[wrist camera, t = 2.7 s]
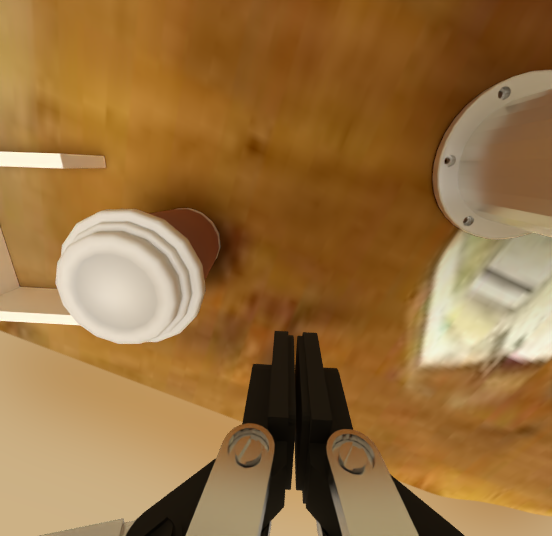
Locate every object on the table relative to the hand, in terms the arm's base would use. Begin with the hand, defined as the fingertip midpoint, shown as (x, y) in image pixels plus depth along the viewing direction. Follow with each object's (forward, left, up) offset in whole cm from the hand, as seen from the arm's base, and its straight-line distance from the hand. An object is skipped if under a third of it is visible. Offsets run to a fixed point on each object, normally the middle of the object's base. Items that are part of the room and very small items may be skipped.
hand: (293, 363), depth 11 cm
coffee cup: (+10, 0, -17) cm, 20 cm away
